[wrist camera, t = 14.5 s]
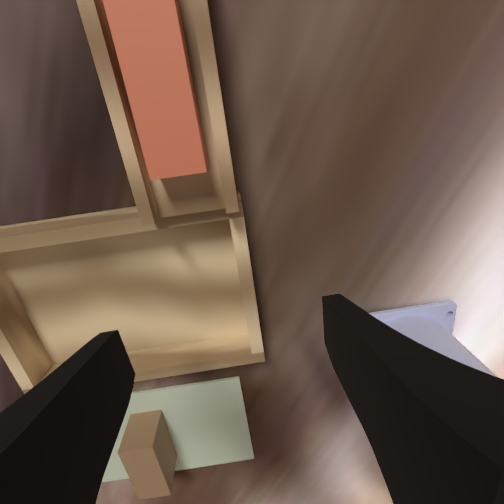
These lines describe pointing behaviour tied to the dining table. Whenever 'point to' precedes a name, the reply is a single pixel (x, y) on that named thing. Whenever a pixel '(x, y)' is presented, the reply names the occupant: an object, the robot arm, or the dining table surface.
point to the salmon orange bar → (159, 84)
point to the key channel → (210, 111)
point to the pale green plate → (179, 434)
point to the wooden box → (129, 292)
